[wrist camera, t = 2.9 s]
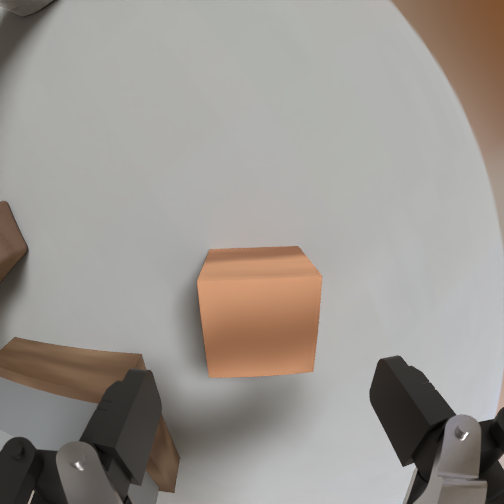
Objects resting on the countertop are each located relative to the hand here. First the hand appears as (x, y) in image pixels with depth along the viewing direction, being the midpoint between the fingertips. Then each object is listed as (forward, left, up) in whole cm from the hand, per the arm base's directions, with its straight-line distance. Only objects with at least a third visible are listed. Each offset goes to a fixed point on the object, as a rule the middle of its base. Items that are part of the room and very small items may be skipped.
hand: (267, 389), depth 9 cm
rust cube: (0, 0, -8) cm, 8 cm away
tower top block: (+12, -15, -4) cm, 20 cm away
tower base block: (+12, -15, -9) cm, 21 cm away
